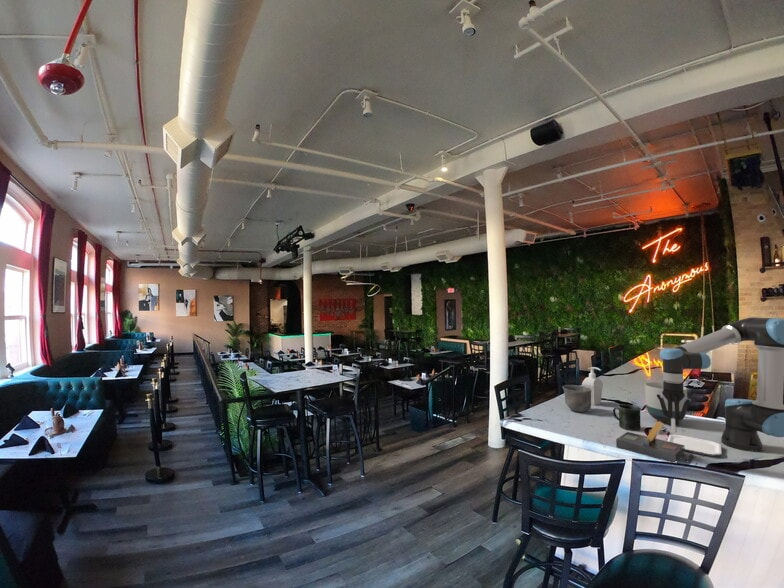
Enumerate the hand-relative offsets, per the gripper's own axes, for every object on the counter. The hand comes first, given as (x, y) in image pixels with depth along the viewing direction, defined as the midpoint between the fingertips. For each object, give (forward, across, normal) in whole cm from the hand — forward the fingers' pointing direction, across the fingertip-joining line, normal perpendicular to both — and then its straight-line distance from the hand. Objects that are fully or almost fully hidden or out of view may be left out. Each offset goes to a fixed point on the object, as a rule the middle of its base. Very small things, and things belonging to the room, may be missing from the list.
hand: (674, 432), depth 172 cm
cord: (+12, -5, -2) cm, 13 cm away
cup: (+12, +62, -41) cm, 75 cm away
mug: (+12, +29, -29) cm, 43 cm away
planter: (+12, +16, -58) cm, 62 cm away
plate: (+12, -3, -21) cm, 24 cm away
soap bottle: (+12, +60, -66) cm, 91 cm away
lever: (+7, +10, 0) cm, 12 cm away
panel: (+12, +10, 0) cm, 15 cm away
